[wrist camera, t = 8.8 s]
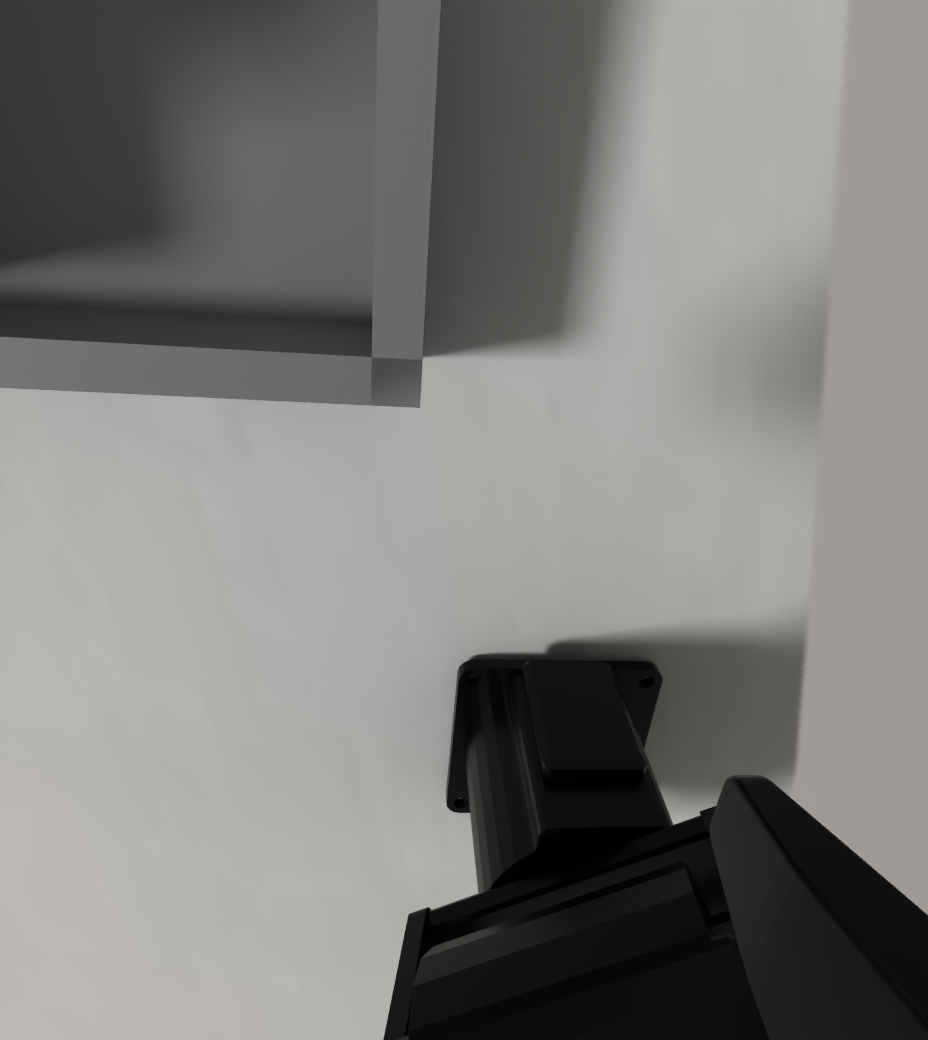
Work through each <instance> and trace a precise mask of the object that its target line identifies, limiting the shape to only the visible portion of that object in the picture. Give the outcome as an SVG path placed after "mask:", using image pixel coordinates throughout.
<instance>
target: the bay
mask: <svg viewBox="0 0 928 1040" xmlns="http://www.w3.org/2000/svg"><path fill="white" fill-rule="evenodd" d="M440 11H441V0H0V388H20V389H41V390H62V391H82V392H103V393H124V394H145V395H166V396H187V397H207V398H228V399H249V400H270V401H291V402H312V403H333V404H353V405H374V406H395V407H416V408H420V395H421V376H422V357H423V338H424V318H425V299H426V280H427V261H428V242H429V222H430V203H431V184H432V165H433V146H434V126H435V107H436V88H437V69H438V50H439V30H440Z"/></svg>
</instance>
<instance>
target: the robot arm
mask: <svg viewBox="0 0 928 1040" xmlns="http://www.w3.org/2000/svg"><path fill="white" fill-rule="evenodd" d="M474 674H476V675H480V676H479V677H477V678H469V676H471V675H474ZM645 676H649V677H648V678H646V679H644V680H640V679H641V678H643V677H645ZM661 684H662V676H661V674H660V672H659V670H658V668H657V666H656V665H655V664H653V663H651V662H639V661H549V660H469V661H467V662H465V663H463V664H462V665H461V666H460V667H459V670H458V674H457V684H456V694H455V705H454V715H453V725H452V736H451V746H450V757H449V767H448V777H447V788H446V802H447V807H448V808H449V809H450V810H451V811H453V812H458V813H470V815H471V825H472V835H473V845H474V854H475V864H476V874H477V884H478V894H476V895H473V896H470V897H467V898H464V899H461V900H459V901H456V902H453V903H450V904H447V905H444V906H442V907H439V908H436V909H433V910H431V909H430V908H429V907H428V908H425V909H422V910H419V911H416V912H413V913H411V914H409V916H408V920H407V925H406V930H405V935H404V940H403V945H402V950H401V955H400V960H399V965H398V970H397V975H396V980H395V985H394V990H393V995H392V1000H391V1005H390V1010H389V1015H388V1020H387V1025H386V1030H385V1035H384V1040H928V915H927V914H926V913H925V912H923V911H922V910H921V909H920V908H919V907H918V906H917V905H915V904H914V903H913V902H912V901H911V900H909V899H908V898H907V897H906V896H905V895H904V894H903V893H901V892H900V891H899V890H898V889H897V888H896V887H894V886H893V885H892V884H891V883H890V882H888V881H887V880H886V879H885V878H884V877H882V876H881V875H880V874H879V873H878V872H877V871H876V870H874V869H873V868H872V867H871V866H870V865H869V864H867V863H866V862H865V861H864V860H863V859H862V858H860V857H859V856H858V855H857V854H856V853H855V852H853V851H852V850H851V849H850V848H849V847H848V846H846V845H845V844H844V843H843V842H842V841H841V840H839V839H838V838H837V837H836V836H835V835H834V834H832V833H831V832H830V831H829V830H828V829H826V828H825V827H824V826H823V825H822V824H821V823H819V822H818V821H817V820H816V819H815V818H814V817H812V816H811V815H810V814H809V813H808V812H807V811H805V810H804V809H803V808H802V807H801V806H800V805H798V804H797V803H796V802H795V801H794V800H793V799H791V798H790V797H789V796H788V795H787V794H786V793H784V792H783V791H782V790H781V789H780V788H779V787H777V786H776V785H775V784H774V783H773V782H771V781H770V780H769V779H767V778H765V777H763V776H759V775H734V776H731V777H729V778H728V779H727V780H726V782H725V784H724V786H723V789H722V792H721V794H720V797H719V800H718V803H717V806H715V807H712V808H709V809H706V810H703V811H700V815H701V816H698V817H695V818H692V819H689V820H686V821H683V822H681V823H678V824H675V825H673V823H672V820H671V817H670V815H669V812H668V810H667V807H666V805H665V802H664V799H663V797H662V794H661V792H660V789H659V786H658V784H657V781H656V779H655V776H654V774H653V771H652V768H651V766H650V763H649V761H648V758H647V755H646V753H645V750H644V746H645V742H646V739H647V735H648V731H649V728H650V724H651V720H652V717H653V713H654V709H655V706H656V702H657V699H658V695H659V691H660V688H661ZM459 798H460V799H459Z"/></svg>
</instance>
